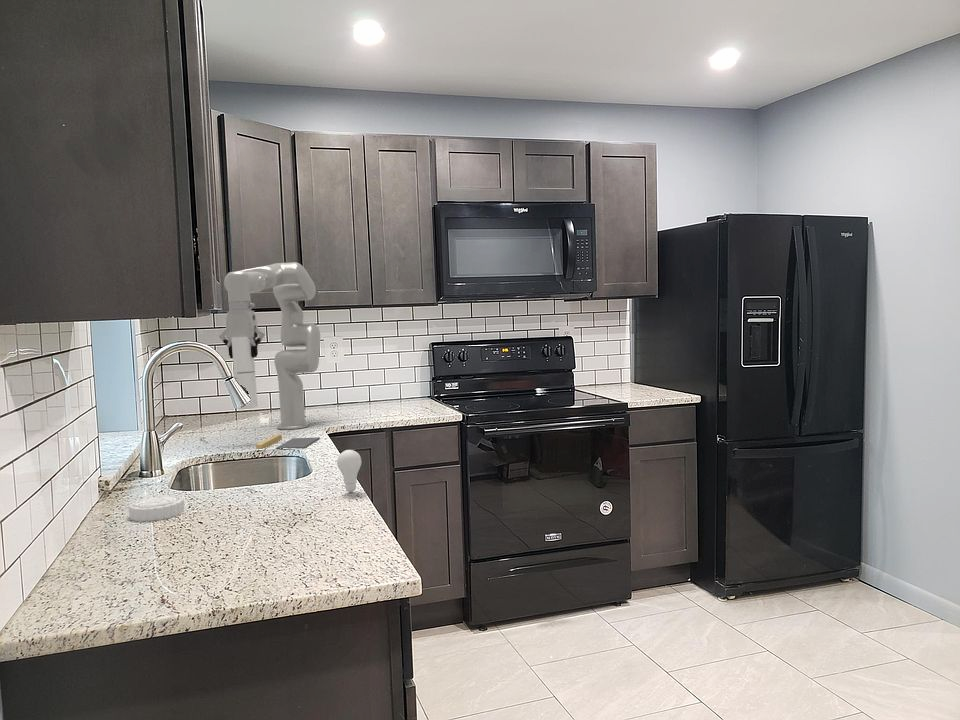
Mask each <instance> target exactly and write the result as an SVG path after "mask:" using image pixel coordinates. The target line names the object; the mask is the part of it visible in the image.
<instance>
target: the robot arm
mask: <svg viewBox="0 0 960 720" xmlns="http://www.w3.org/2000/svg"><path fill="white" fill-rule="evenodd" d="M223 281H224V282H223V285H224V288H225V290H226V292H227V300H228V302H227V303H228V311H227V312H226V318H225V320H226V321H225V330H224V331H223V332H222V333H221V334H220V335H219V339H220V340H221V341H222V342H223V344H225V345H226V347H227V348H228V349H227V350H228V356H229V358H230V359H233V353H232V338H234V337H248V338H249V339H250V342H251V344H252V346H251V356H252V358H254V359H255V358H257V357H258V355H259V353H258V351H259V350H258V346H259V344H260V343H261V342H262V340H263V339H264V338H265V336H266V334H265V333H264V332H263V331H262V330H261V329H259V328H258V321H257V317H256V313H255V310H252V309H253V308H255V307H256V305H255V303H253V302H252V298H251V294H254V293H260V292H262V291H263V290H267V289H272V291H273V295H274V298H275V300H276V301H277V303H278V305H279V308H280V311H281V328H280V342H281V344H282V345H283V347H286V348H295V349H282V350H279V351H278V352H277V353H276V354H275V356H274V362H273V363H274V367H275V371H276V375H277V382H278V383H277V385H278V394H279V395H278V397H279V411H280V413H279V415H280V424H278V425H276V428H277V429H278V430H297V429H304V428H305V429H306V428H307V427H309V426H310V423H309V422H307V421H306V413H305V400H304V384H303V381H302V378H300V376H299V375H298V374H305V373H306V374H308V373H314V372H316V371H317V370H318V368H319V364H320V363H319V362H320V350H321V349H320V347H321V331H320V329H319V327H318V325H317V324H315V323H313V322H312V323H310V322H309V323H304V311H303V310H302V308H301V306H300V305H299V304H298V303H297V301H298V302H301V301H311V300H312V299H314V298H315V296H316V294H317V293H316V290H317V289H316V285H315V283H314V281H313V279H312V278H311V276H310V274H309V272H308V271H307V270H306V268H305V267H304V266H303V265H302V264H301V263H299V262H296V261H293V262H292V261H291V262H277V263H271V264H268V265H263V266H258V267H253V268H248V269H247V268H246V269H242V270H238V271H237V270H235V271H230V272H228V273H227V274H226V276H225V277H224V280H223ZM296 348H301V349H296ZM302 348H303V349H302Z"/></svg>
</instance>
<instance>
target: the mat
mask: <svg viewBox="0 0 960 720" xmlns="http://www.w3.org/2000/svg"><path fill="white" fill-rule="evenodd" d="M320 439H321V437H320V436H319V437H293V438H290V439H289V440H287V441H285V442H284V443H282V444H280V445H278V446H277V447H275V450H276V449H280V448H281V450H284V449H283V448H305V447H306V448H308V447H309V445H310V446H311V445H313V444H315V443H316V442H318V441H319V440H320ZM307 446H308V447H307ZM306 448H305V449H306Z"/></svg>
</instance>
